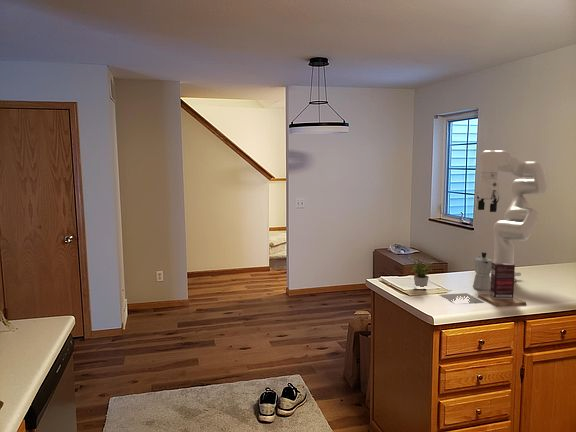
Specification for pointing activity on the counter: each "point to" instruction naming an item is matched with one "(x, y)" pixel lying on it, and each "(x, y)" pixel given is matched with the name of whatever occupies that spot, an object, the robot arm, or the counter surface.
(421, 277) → the house plant
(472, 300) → the plate
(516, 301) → the walnut board
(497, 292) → the supplement box
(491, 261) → the coffee maker
